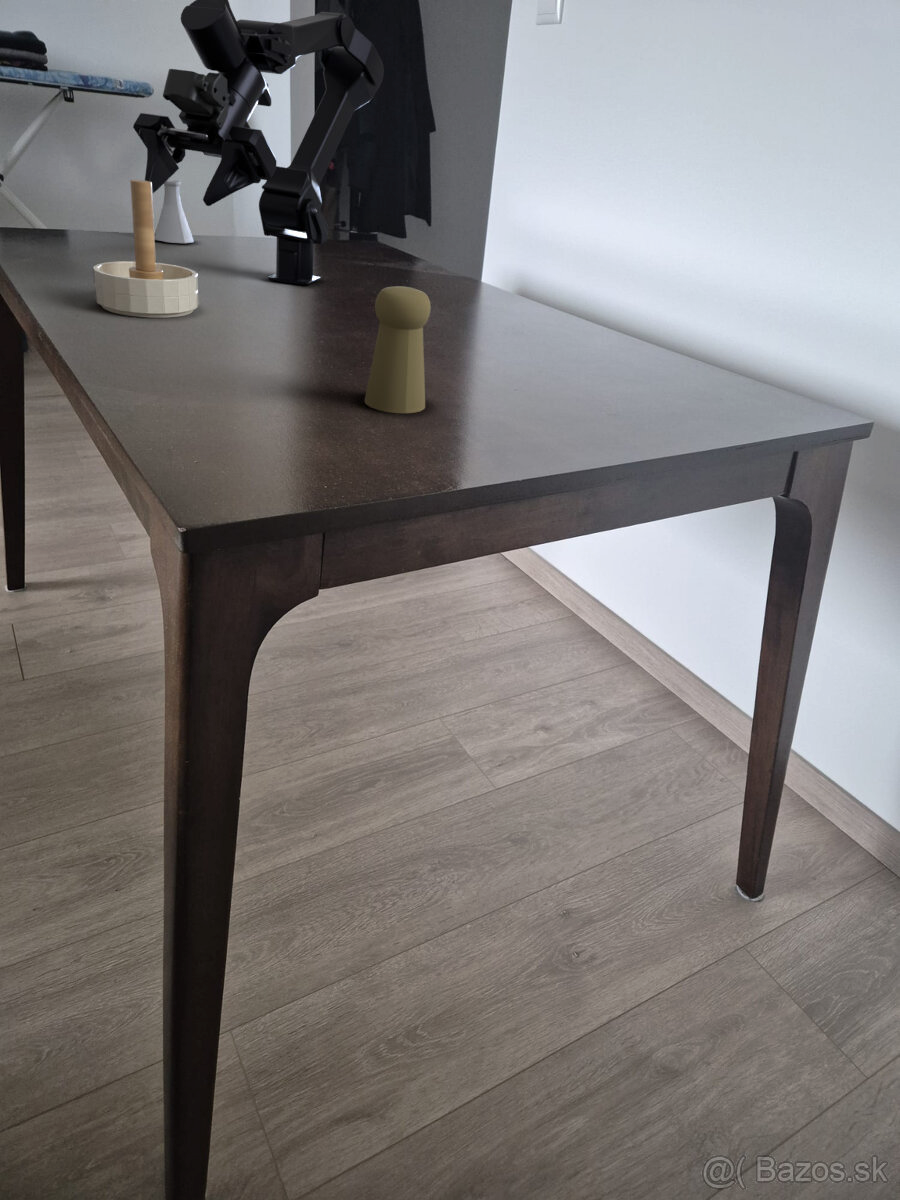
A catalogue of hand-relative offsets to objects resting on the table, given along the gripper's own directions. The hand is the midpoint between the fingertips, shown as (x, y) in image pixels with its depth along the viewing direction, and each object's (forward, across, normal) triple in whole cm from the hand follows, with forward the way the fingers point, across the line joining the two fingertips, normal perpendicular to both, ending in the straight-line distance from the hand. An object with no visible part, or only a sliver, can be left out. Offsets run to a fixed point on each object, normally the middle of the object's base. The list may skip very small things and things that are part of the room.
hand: (175, 197), depth 109 cm
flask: (-19, -34, +37) cm, 54 cm away
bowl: (+13, 0, +5) cm, 14 cm away
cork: (+22, +42, -4) cm, 48 cm away
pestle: (+13, 0, +4) cm, 13 cm away
